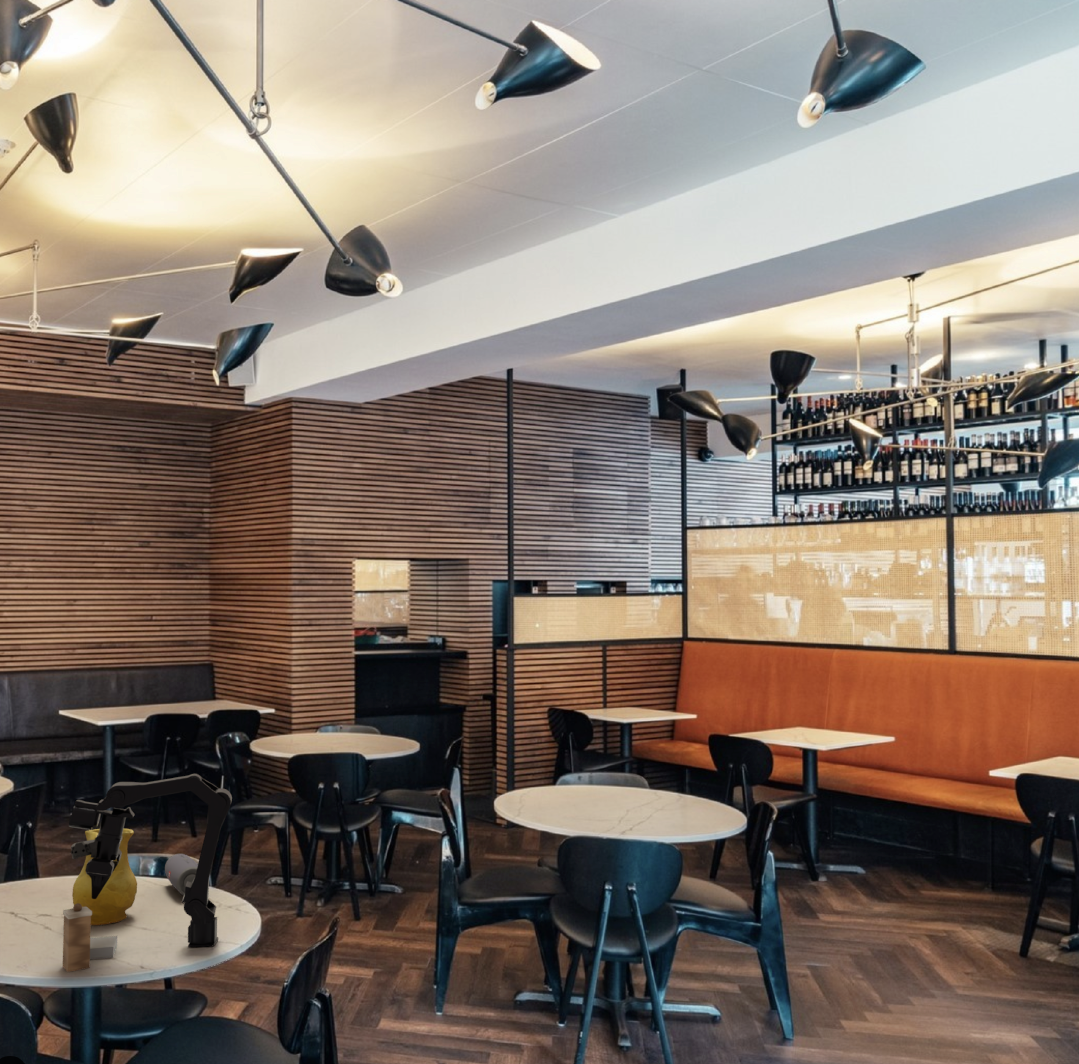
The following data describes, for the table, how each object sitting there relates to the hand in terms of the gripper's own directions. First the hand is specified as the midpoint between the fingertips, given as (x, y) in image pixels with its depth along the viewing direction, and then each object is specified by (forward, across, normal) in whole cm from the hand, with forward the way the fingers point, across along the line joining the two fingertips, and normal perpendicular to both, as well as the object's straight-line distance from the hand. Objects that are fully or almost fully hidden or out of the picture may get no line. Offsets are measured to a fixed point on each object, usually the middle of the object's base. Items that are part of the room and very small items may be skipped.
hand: (96, 894), depth 281 cm
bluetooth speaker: (+11, -56, +20) cm, 61 cm away
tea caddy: (+14, +12, 0) cm, 19 cm away
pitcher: (+14, -31, +1) cm, 34 cm away
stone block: (+14, +1, +3) cm, 15 cm away
